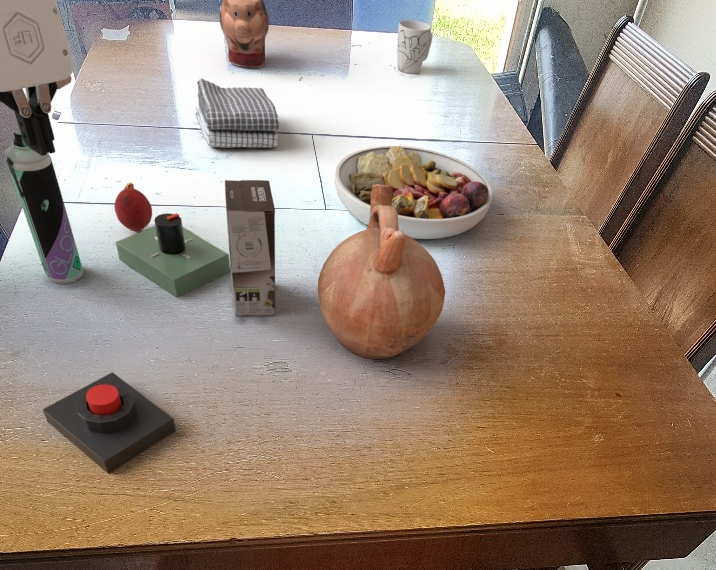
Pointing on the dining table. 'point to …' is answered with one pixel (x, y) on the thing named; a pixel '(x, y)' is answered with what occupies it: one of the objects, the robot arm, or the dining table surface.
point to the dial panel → (174, 261)
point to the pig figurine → (245, 31)
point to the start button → (103, 399)
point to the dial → (170, 233)
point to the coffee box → (251, 245)
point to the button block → (110, 424)
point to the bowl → (415, 189)
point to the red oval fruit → (133, 208)
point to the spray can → (44, 211)
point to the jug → (380, 286)
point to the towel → (236, 116)
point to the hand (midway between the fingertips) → (41, 149)
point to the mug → (413, 45)
